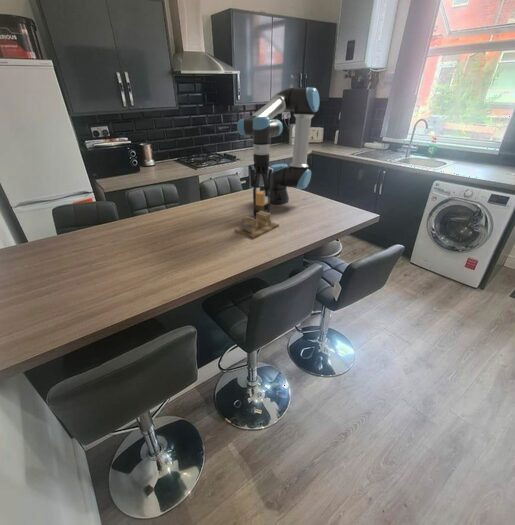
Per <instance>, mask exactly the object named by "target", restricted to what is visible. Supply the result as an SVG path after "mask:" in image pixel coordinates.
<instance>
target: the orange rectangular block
mask: <svg viewBox="0 0 515 525" xmlns="http://www.w3.org/2000/svg"><path fill="white" fill-rule="evenodd" d="M266 204H268V202H266V203H263V191H260V192H257V193H256V205H259V206H264V205H266Z"/></svg>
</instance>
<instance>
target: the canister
mask: <svg viewBox="0 0 515 525" xmlns="http://www.w3.org/2000/svg"><path fill="white" fill-rule="evenodd" d="M258 188H260V191H263V190H264V189H265V188H264V185H259V187H258ZM252 194H253V195H252V198H253V199H252V200H253V208H252V209H253V216H254V217H255V218H256V213H257V212H259V211H263V212H267V213H270V214H271V212H270V210H271V203H270V190H269V196H268V204H266V205H264V206H259V205H256V194H255V189H254V188H253V189H252Z"/></svg>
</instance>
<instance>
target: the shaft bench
mask: <svg viewBox="0 0 515 525" xmlns="http://www.w3.org/2000/svg"><path fill="white" fill-rule="evenodd" d="M271 215H272V214H271V212H270V213H267V212H263V211H259V212H257V213H256V217H255V218H253V217H250V216H246V217H242V222H241V223H242V224H241V226H238V227H236V228H234V232H235V233H238V234H241V235H243V236H245V237H248V238H251V239H253V240H255V239H257V238H258V237H261V236H262V235H265V234H268V233H269V232H271V231H273V230H275V229H277V228H279V227H280V224H278V223H275V222H273V221H272V216H271Z"/></svg>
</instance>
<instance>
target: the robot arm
mask: <svg viewBox="0 0 515 525" xmlns="http://www.w3.org/2000/svg"><path fill="white" fill-rule="evenodd" d="M319 107H320V94H319V90H318V89H317V88H316V87H308V86H307V87H287V88H285V89H283V90H281V91H279V92H277V93H276V94H275V95H273V96H272V97H271V99H270V101H269V102H267V103H266V104H264V105H263V106H262V107H261V108H259V109H258V110H257V111H256V112H254V113H253V114H252V115H250V116H249V117H248V118H241V119H239V120H238V122H237V125H236V128H237V132H238V134H239V135H241V136H245V137H246V136H247V137H253V138H252V140H253V144H252V146H253V148H252V150H253V164H252V165H249V167H248V170H249V171H250V172H249V174H250V186H251V187H253V189H255V194H256V193H257V192H260V188H258V187H259V186H260V181H261V177H262V181H263V186H264V188H265V189H264V190H263V203H266V202H268V196H269V190H270V205H284V204H288V203H289V201H290V196H289V194H288V189H287V188H295V189H298V190H301V189H306V188H307V187H308V186H309V184H310V181H311V178H312V171H311V169H309V166H310V165H308V162H307V160H308V152H309V150H308V149H309V143H310V142H309V141H310V132H311V124H312V118H313V117H315V113H316V112H318V111H319ZM284 112H293V116H294V118H295V124H294V126H295V127H294V137H293V147H292V150H293V151H292V161H291V163H289V164H287V163H276V164H272V165H270V154H269V153H270V139H271V138H276V137H279V136H280V135H281V134H282V133H283V129H284V127H283V123H282V122H281V121H280V120H279V119H276V118H275V117H277V115H278V114H279V115H280V114H282V113H284ZM274 118H275V119H274ZM288 165H289V166H288Z"/></svg>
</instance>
